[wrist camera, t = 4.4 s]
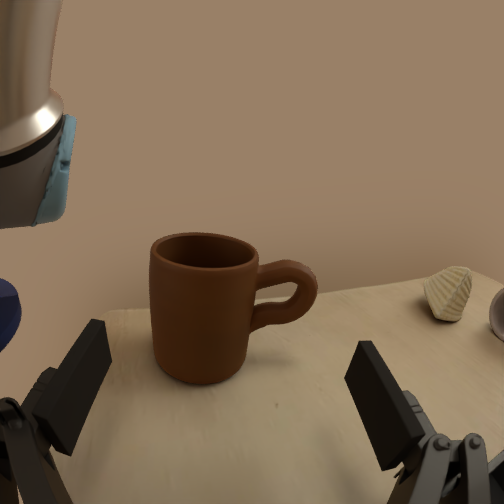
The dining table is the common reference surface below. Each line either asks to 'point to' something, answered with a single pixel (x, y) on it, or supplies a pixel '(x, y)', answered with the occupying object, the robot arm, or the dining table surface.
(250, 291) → the mug
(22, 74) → the robot arm
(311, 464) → the dining table surface
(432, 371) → the dining table surface
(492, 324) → the planter
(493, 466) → the tray
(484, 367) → the dining table surface
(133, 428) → the dining table surface
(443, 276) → the seashell
